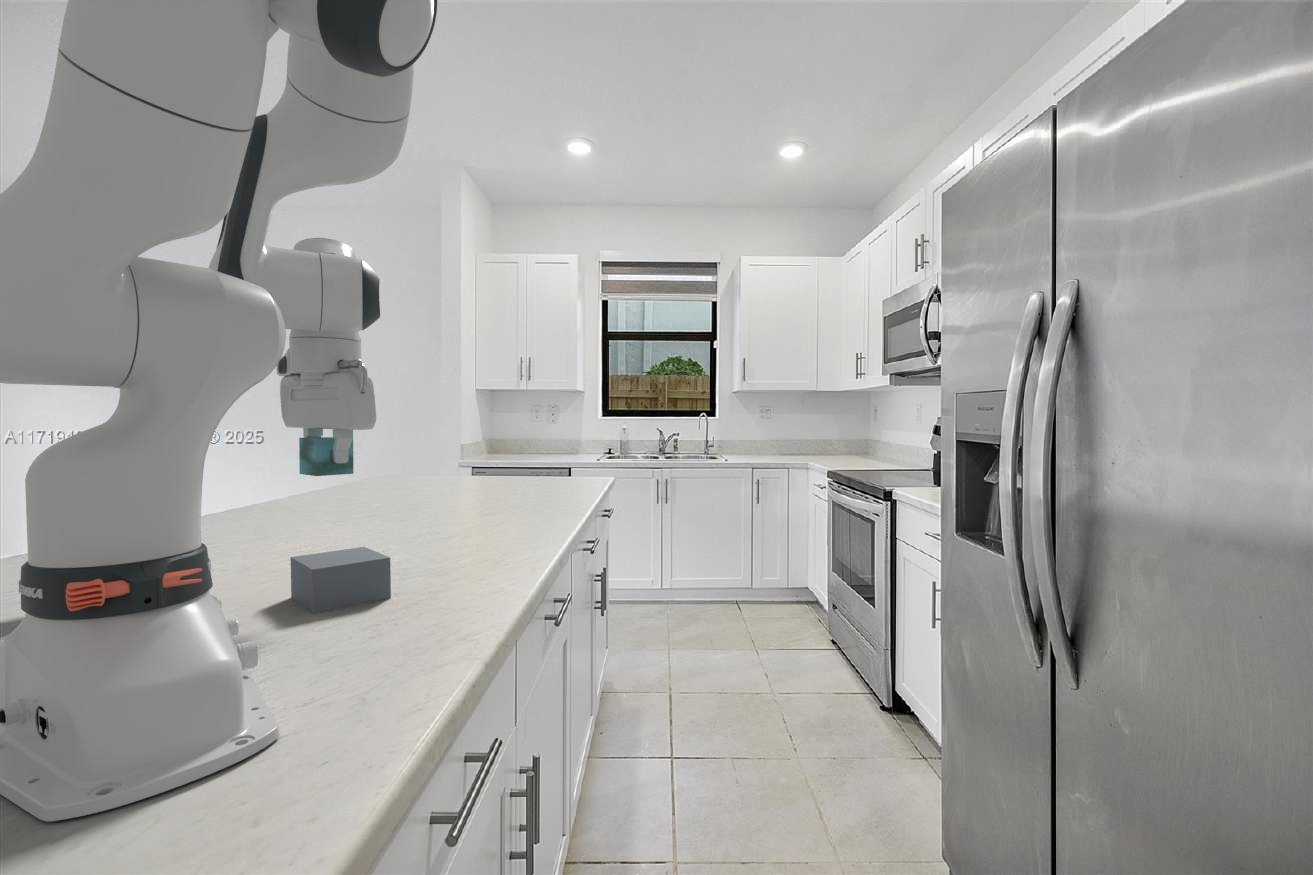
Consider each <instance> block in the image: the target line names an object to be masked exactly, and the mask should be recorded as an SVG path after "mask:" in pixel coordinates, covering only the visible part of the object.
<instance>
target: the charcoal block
mask: <svg viewBox="0 0 1313 875" xmlns="http://www.w3.org/2000/svg"><path fill="white" fill-rule="evenodd" d="M391 574H392V573H391V557H390V556H387V555H385V554H382V553H380V552H378V551H375V550H373V549H370V548H369V547H366V546H360V547H353V548H345V549H339V550H332V551H324V552H318V553H311V554H303V555H297V556H296V555H295V556H290V593H291V594H290V595H291V596H290V597H291V598H292V599H293V601H295V602H296V603H298V604H299V605H300V606H302V607H303V608H305V609H306V610H307V611H308V612H310V613H312V614H313V615H314V614H319V613H323V612H328V611H334V610H338V609H343V608H344V609H345V608H349V607H353V606H359V605H365V604H369V603H374V602H378V601H380V602H381V601H384V600H389V599H392V589H391V588H392V587H391V585H392V584H391V582H392V581H391V580H392V579H391V578H392V577H391Z"/></svg>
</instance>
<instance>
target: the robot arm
mask: <svg viewBox="0 0 1313 875" xmlns="http://www.w3.org/2000/svg"><path fill="white" fill-rule="evenodd" d="M437 13H438V0H67V4H66V7H65V13H64V16H63V19H62V20H63V21H62V26H61V32H60V38H59V41H58V42H59V43H58V48H57V57H56V62H55V68H54V75H53V81H52V87H51V89H50V90H51V91H50V95H49V101H48V106H47V109H46V113H45V118H44V121H43V124H42V128H41V131H40V134H39V138H38V142H37V144H36V147H35V150H34V153H33V154H32V156H31V158H30V160H29V162H28V163H27V165H26V167H25V168H24V169H23V171H22V172H21V173H20V175H19V176H18V177H17V178H16V179H15V181H13V183H11V184H10V185H8V187H7V188H6V189H5V190H4V191H2V192H1V193H0V384H6V385H9V384H10V385H36V386H37V385H41V386H42V385H43V386H47V385H48V386H70V387H71V386H75V387H105V388H107V387H108V388H114V389H119V399H118V403H117V406H116V408H115V410H114V412H113V414H112V415H111V416H110V417H109V418H108V419H107V420H106V421H105V422H103V423H101V424H99V425H96V426H93V427H91V428H88V429H86V430H83V431H80V432H78V433H75V434H73V435H71V436H69V437H66V438H65V439H61V440H60V441H58V442H56V443H54V444H52V445H51V446H49V447H47V448H46V449H45V450H43V451H42V452H41V453H40V454H38V456H36V457H35V459H34V460H33V461H32V462H31V465H30V466H29V467H28V470H27V472H26V475H25V480H24V482H25V486H24V487H25V490H24V491H25V509H26V510H25V512H26V535H27V536H26V540H27V541H26V542H27V561H26V562H25V563H23V564H22V565H21V566H20V579H19V581H18V593H19V594H20V609H21V611H23V612H24V613H25V616H24V617H23V619H22V620H21V621H20V623H19V624H18V625H17V626H16V627H15V628H14V629H13V630H12V632H10V633H9V634H8V635H7V636H5V637H4V638H3V639H2V640H0V795H1V796H3V797H4V798H6V799H7V800H9V801H11V803H13V804H15V805H17V806H19V808H21V809H23V810H24V811H26V812H27V813H29V814H31V815H32V816H33V817H35V818H37V819H38V820H41V821H44V822H58V821H61V820H62V821H63V820H69V819H74V818H79V817H83V816H87V815H93V814H97V813H99V812H100V813H101V812H104V811H108V810H111V809H116V808H119V807H122V806H125V805H129V804H132V803H134V802H135V803H136V802H137V801H141V800H144V799H146V798H147V799H148V798H150V797H153V796H156V795H159V794H161V793H164V792H167V791H170V790H172V789H175V788H178V787H181V786H184V785H186V784H188V783H191V782H194V781H196V780H199V779H202V778H204V777H206V776H209V775H211V774H214V773H216V772H219V771H221V770H224V769H226V768H228V767H230V766H232V765H234V764H236V763H238V762H241V761H242V760H245V759H247V758H249V757H251V756H252V755H255V754H256V753H258V752H260V751H261V750H263V749H265V748H266V747H267V746H269V745H270V744H272V743H274V742H275V741H277V739H278V738H279V737H280V731H279V730H280V729H279V725H278V722H277V720H276V718H275V716H274V713H272V711H271V709H270V707H269V705H268V703H267V701H266V699H265V697H264V696H263V694H262V692H261V690H260V688H259V687H258V685H257V683H256V681H255V679H254V677H253V675H252V673H251V672H250V671H248V670H252V669H255V668H256V667H258V662H259V655H258V653H259V652H258V647H257V643H256V641H254V640H253V641H252V640H250V641H249V640H248V641H244V642H240V643H236V644H235V642H234V638H233V637H234V636H237V635H238V634H239V623H238V620H237V619H231V620H227V619H226V617H225V614H224V611H223V609H222V606H223V605H222V600H221V599H219V598H218V597H217V596H214V595H212V594H211V591H210V590H211V589H212V587H213V586H214V584H213V578H212V572H211V571H212V561H211V559H210V558H209V553H208V547H207V545H206V544H204V543H203V542H202V497H203V494H202V493H203V480H204V470H205V469H204V468H205V461H206V456H207V452H208V450H209V446H210V443H211V441H212V438H213V436H214V434H215V432H216V430H217V428H218V426H219V424H220V422H221V421H222V419H223V418H224V416H225V415H226V413H227V412H228V411H229V409H230V408H231V407H232V406H233V405H234V404H235V403H236V402H237V400H239V399H240V397H241V396H243V395H244V394H245V393H246V392H248V391H249V390H250V389H251V388H253V387H254V386H256V385H258V384H259V383H261V382H262V381H264V380H266V378H268V376H270V375H271V374H272V373H273V371H274V370H275V369H276V374H277V376H279V377H282V378H281V380H280V383H279V384H280V385H279V392H280V409H281V410H280V411H281V418H282V421H283V423H284V425H285V427H286V428H288V429H289V428H291V429H295V428H297V429H303V430H302V432H303V433H302V434H303V436H302V437H303V438H312V437H323V436H324V430H332V437H333V438H335V441H334V446H333V450H330V456H331V457H330V461H331V462H332V463H347V462H348V450H349V448H350V445H351V442H352V440H353V441H354V431H357V430H358V431H361V430H362V431H363V430H364V431H366V430H373V429H374V428H375V424H376V423H377V407H376V396H375V389H374V388H375V387H374V382H373V379H372V377H371V375H369V374H368V370H367V367H365V365H364V363H363V360H362V339H361V335H360V332H359V331H364V330H366V329H368V328H369V327H370V326H372V325H373V324H374V323H375V322H377V321H378V319H380V318H381V306H380V279H381V278H380V277H379V275H378V274H377V273H376V271H375V270H374V269H373V268H372V267H371V266H370V265H369V264H368V263H367V262H366V261H364V260H363V259H360V258H356V257H357V256H356V253H355V251H354V249H353V248H352V247H351V246H349V245H347V243H344V242H342V241H338V240H336V239H330V238H325V237H310V238H305V239H302V240H298V242H296V243H295V245H294V246H293V249H291V248H290V249H288V248H281V247H280V248H279V247H274V246H270V245H268V244H265V243H266V242H265V241H266V238H267V234H268V231H269V227H270V223H271V220H272V216H273V212H274V209H275V206H276V205H277V203H279V202H280V201H281V200H282V199H284V198H285V197H288V196H289V195H292V194H295V193H299V192H302V191H306V190H311V189H316V188H317V189H318V188H322V187H323V188H324V187H331V186H332V187H333V186H342V185H350V184H351V185H352V184H357V183H360V182H365V181H367V180H370V179H372V178H374V177H376V176H378V175H380V174H381V173H383V172H385V171H386V170H387V169H389V167H391V166H392V165H393V164H394V163H395V162H396V160H397V159H398V157H399V155H400V153H401V150H402V148H403V144H404V140H405V137H406V133H407V129H408V123H409V117H410V112H411V107H412V106H411V104H412V97H413V88H414V87H413V86H414V78H415V76H414V75H415V74H414V71H415V63H416V62H417V61H418V59H419V58H420V57H421V55H423V53H424V51H425V49H426V48H427V46H428V44H429V42H430V40H431V37H432V34H433V31H434V28H435V24H436V19H437ZM279 29H280V30H282V31H284V32H285V33H287V34H289V37H288V47H287V60H286V63H287V65H286V81H285V87H284V90H283V93H282V95H281V96H280V98H279V100H278V101H277V103H276V104H275V105H274V106H273V107H272V108H271V110H270V111H268V113H264V114H260V115H257V112H258V108H259V103H260V98H261V93H262V88H263V87H262V86H263V82H264V74H265V67H266V62H267V61H266V60H267V50H268V49H267V48H268V42H269V41H270V40H271V38H272V37H273V36H274V35H275V34H276V33H277V32H278V31H279ZM221 221H222V225H221V230H220V234H219V239H218V241H217V246H216V249H215V251H214V254H213V256H212V258H211V260H210V263H209V265H208V268H207V267H203V266H195V265H191V264H184V263H178V262H172V261H165V260H159V259H155V258H154V259H153V258H147V257H143V256H142V257H141V256H140V255H142V254H144V253H146V251H148V250H150V249H152V248H155V247H157V246H159V245H161V244H164V243H165V244H166V243H168V242H172V241H175V240H180V239H186V238H189V237H195V236H198V235H200V234H203V233H205V232H209V231H210V230H211V229H213V228H214V227H216V226H217V225H218V224H219V223H220V222H221ZM286 330H290V332H289V337H288V338H289V339H288V340H289V341H288V342H289V348H288V349H287V350H286V352H285V353H284V351H285V348H286V347H285V346H286V342H287V340H286V339H287V334H286V333H287V331H286ZM283 354H284V355H283Z"/></svg>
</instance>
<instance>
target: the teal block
mask: <svg viewBox="0 0 1313 875" xmlns="http://www.w3.org/2000/svg"><path fill="white" fill-rule="evenodd" d="M298 438H299V439H298V440H299V441H298V442H299V443H298V444H299V447H298V448H299V452H298V454H299V455H298V456H299V461H298V462H299V474H300V475H303V476H304V475H306V476H312V477H325V476H340V475H354V439H353V440H352V442H351V445H350V448H349V450H348V462H347V463H332V462H331V461H330V457H331V456H330V450H333V446H334V441H335V438H333V436H326V437H325V436H324V437H323V436H321V437H312V438H304V437H298Z"/></svg>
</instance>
